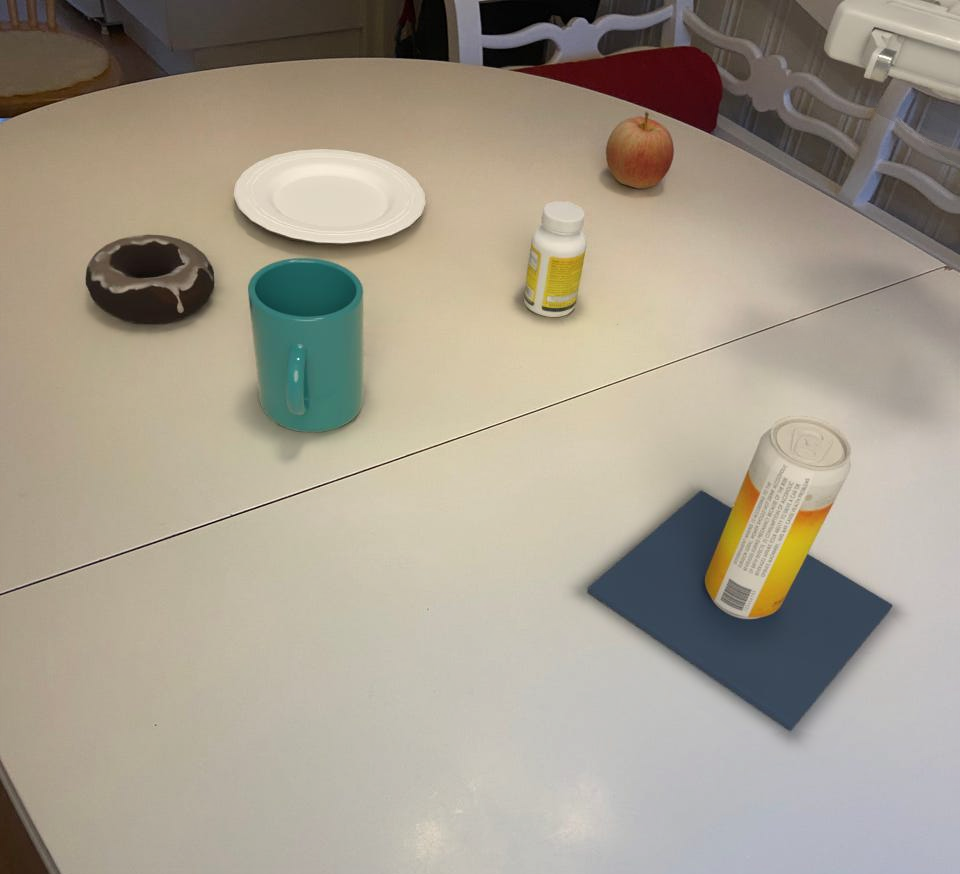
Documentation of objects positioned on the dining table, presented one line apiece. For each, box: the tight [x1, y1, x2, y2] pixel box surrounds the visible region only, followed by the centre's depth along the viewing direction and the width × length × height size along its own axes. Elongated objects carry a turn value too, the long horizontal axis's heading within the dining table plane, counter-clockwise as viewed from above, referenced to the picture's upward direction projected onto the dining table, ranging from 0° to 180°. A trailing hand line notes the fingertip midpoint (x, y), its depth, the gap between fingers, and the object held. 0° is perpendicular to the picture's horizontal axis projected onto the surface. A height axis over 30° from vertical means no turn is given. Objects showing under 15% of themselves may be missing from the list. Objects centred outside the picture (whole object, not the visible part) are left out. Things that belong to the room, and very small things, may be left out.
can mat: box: [587, 489, 893, 731], centre depth 74 cm, size 18×16×1 cm
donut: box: [85, 234, 215, 325], centre depth 91 cm, size 12×12×4 cm
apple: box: [605, 111, 675, 189], centre depth 114 cm, size 8×8×8 cm
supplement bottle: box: [523, 200, 587, 318], centre depth 94 cm, size 5×5×10 cm
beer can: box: [705, 415, 852, 619], centre depth 68 cm, size 6×6×15 cm
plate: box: [233, 148, 427, 246], centre depth 106 cm, size 21×21×2 cm
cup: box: [247, 257, 365, 433], centre depth 79 cm, size 9×12×11 cm
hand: (939, 87), depth 69 cm, fingers open, 8 cm apart
